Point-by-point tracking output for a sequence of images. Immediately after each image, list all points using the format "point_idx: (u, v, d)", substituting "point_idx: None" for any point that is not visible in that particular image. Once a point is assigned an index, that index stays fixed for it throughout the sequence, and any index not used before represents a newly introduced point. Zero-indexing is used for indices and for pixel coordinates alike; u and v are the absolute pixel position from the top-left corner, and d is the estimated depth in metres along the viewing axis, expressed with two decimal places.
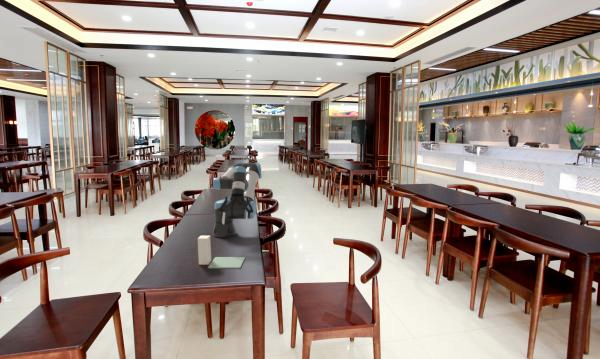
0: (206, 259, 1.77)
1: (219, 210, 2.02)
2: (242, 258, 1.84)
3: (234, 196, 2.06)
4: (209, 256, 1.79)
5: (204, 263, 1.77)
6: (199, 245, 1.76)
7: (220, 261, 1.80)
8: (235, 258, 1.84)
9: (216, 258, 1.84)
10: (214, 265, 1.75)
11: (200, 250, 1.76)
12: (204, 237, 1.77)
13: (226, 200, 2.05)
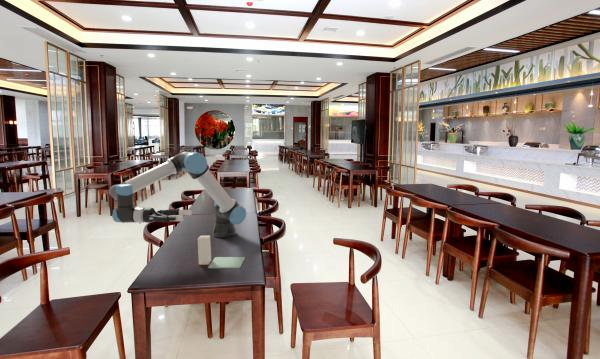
0: (206, 259, 1.77)
1: None
2: (242, 258, 1.84)
3: None
4: (209, 256, 1.79)
5: (204, 263, 1.77)
6: (199, 245, 1.76)
7: (220, 261, 1.80)
8: (235, 258, 1.84)
9: (216, 258, 1.84)
10: (214, 265, 1.75)
11: (200, 250, 1.76)
12: (204, 237, 1.77)
13: None
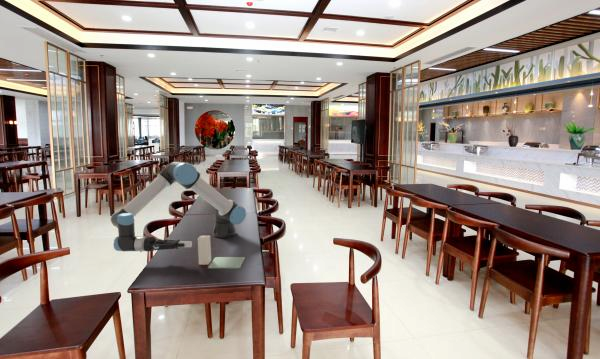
0: (206, 259, 1.77)
1: None
2: (242, 258, 1.84)
3: None
4: (209, 256, 1.79)
5: (204, 263, 1.77)
6: (199, 245, 1.76)
7: (220, 261, 1.80)
8: (235, 258, 1.84)
9: (216, 258, 1.84)
10: (214, 265, 1.75)
11: (200, 250, 1.76)
12: (204, 237, 1.77)
13: None
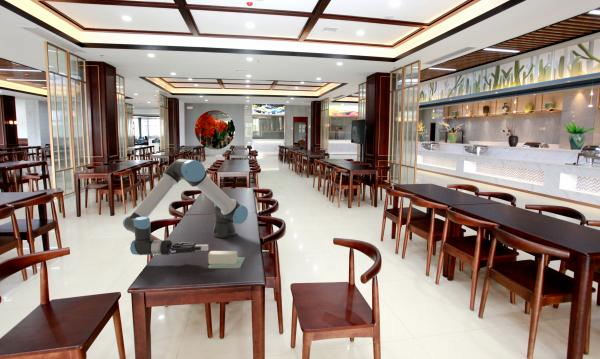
0: (214, 262, 1.77)
1: None
2: (242, 258, 1.84)
3: None
4: None
5: (209, 259, 1.77)
6: (228, 255, 1.76)
7: None
8: None
9: None
10: (214, 265, 1.75)
11: (222, 256, 1.76)
12: (236, 258, 1.78)
13: None
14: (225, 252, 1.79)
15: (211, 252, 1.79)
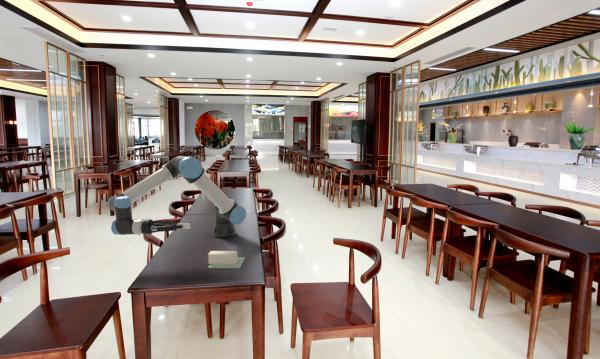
0: (214, 262, 1.77)
1: None
2: (242, 258, 1.84)
3: None
4: None
5: (209, 259, 1.77)
6: (228, 255, 1.76)
7: None
8: None
9: None
10: (214, 265, 1.75)
11: (222, 256, 1.76)
12: (236, 258, 1.78)
13: None
14: (225, 252, 1.79)
15: (211, 252, 1.79)
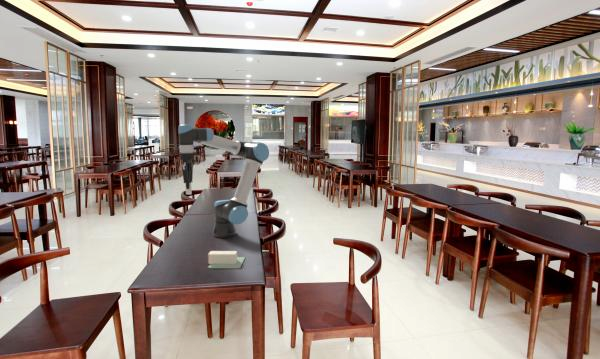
0: (214, 262, 1.77)
1: None
2: (242, 258, 1.84)
3: None
4: None
5: (209, 259, 1.77)
6: (228, 255, 1.76)
7: None
8: None
9: None
10: (214, 265, 1.75)
11: (222, 256, 1.76)
12: (236, 258, 1.78)
13: None
14: (225, 252, 1.79)
15: (211, 252, 1.79)
